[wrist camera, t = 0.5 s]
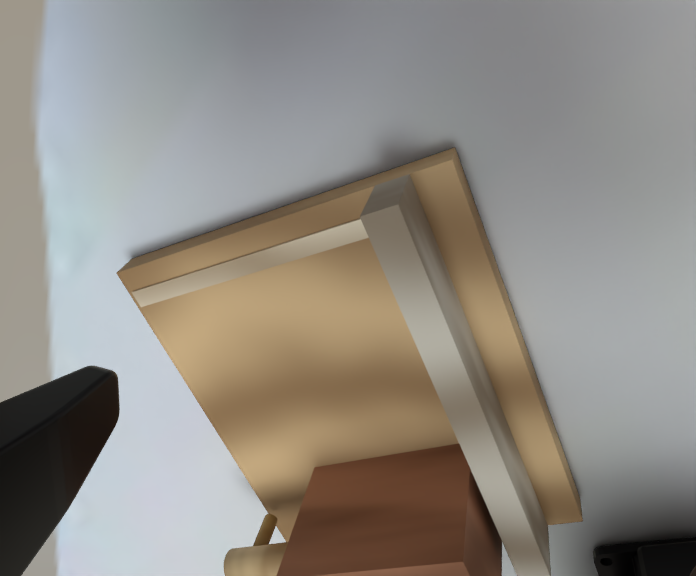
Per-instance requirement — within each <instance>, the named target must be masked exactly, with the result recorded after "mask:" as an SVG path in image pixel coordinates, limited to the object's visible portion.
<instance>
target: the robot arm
mask: <svg viewBox="0 0 696 576" xmlns="http://www.w3.org/2000/svg"><path fill="white" fill-rule="evenodd" d="M118 417H119V389H118V377H117V375H116V373H115V372H113V371H112V370H108V369H105V368H101V367H97V366H87V367H84V368H82V369H80V370H77V371H75V372H72V373H70V374H68V375H65V376H63V377H60V378H58V379H56V380H53V381H51V382H48V383H46V384H44V385H41V386H39V387H37V388H34V389H32V390H29V391H27V392H24V393H22V394H20V395H17V396H15V397H13V398H10V399H8V400H5V401H3V402H1V403H0V576H21V575H22V574H23V572H24V571H25V569H26V568H27V567H28V565H29V564H30V563H31V561H32V560H33V558H34V557H35V556H36V554H37V553H38V551H39V550H40V549H41V547H42V546H43V544H44V543H45V542H46V540H47V539H48V537H49V536H50V534H51V533H52V532H53V530H54V529H55V527H56V526H57V525H58V523H59V522H60V520H61V519H62V517H63V516H64V514H65V513H66V511H67V510H68V508H69V507H70V505H71V503H72V502H73V500H74V498H75V497H76V495H77V493H78V492H79V490H80V488H81V486H82V484H83V483H84V481H85V479H86V477H87V476H88V474H89V472H90V470H91V468H92V467H93V465H94V463H95V461H96V460H97V458H98V456H99V454H100V452H101V451H102V449H103V447H104V445H105V444H106V442H107V440H108V438H109V436H110V435H111V433H112V431H113V429H114V428H115V426H116V423H117V421H118ZM593 556H594V563H595V566H596V569H597V572H598V574H599V576H696V537H693V538H683V539H672V540H662V541H651V542H641V543H631V544H620V545H610V546H601V547H598V548H596V549H595V550H594V551H593Z"/></svg>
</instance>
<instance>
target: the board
mask: <svg viewBox="0 0 696 576" xmlns="http://www.w3.org/2000/svg"><path fill="white" fill-rule="evenodd" d="M117 275H118V276H119V278H120V279H121V281H122V283H123V284H124V286H125V287H126V289H127V290H128V292H129V294H130V295H131V297H132V298H133V300H134V302H135V303H136V305H137V306H138V308H139V309H140V311H141V313H142V314H143V316H144V317H145V319H146V321H147V322H148V324H149V325H150V327H151V328H152V330H153V332H154V333H155V335H156V336H157V338H158V339H159V341H160V343H161V344H162V346H163V347H164V349H165V351H166V352H167V354H168V355H169V357H170V358H171V360H172V362H173V363H174V365H175V366H176V368H177V370H178V371H179V373H180V374H181V376H182V377H183V379H184V381H185V382H186V384H187V385H188V387H189V389H190V390H191V392H192V393H193V395H194V396H195V398H196V400H197V401H198V403H199V404H200V406H201V407H202V409H203V411H204V412H205V414H206V415H207V417H208V419H209V420H210V422H211V423H212V425H213V426H214V428H215V430H216V431H217V433H218V434H219V436H220V438H221V439H222V441H223V442H224V444H225V445H226V447H227V449H228V450H229V452H230V453H231V455H232V457H233V458H234V460H235V461H236V463H237V464H238V466H239V468H240V469H241V471H242V472H243V474H244V475H245V477H246V479H247V480H248V482H249V483H250V485H251V487H252V488H253V490H254V491H255V493H256V494H257V496H258V498H259V499H260V501H261V502H262V504H263V506H264V507H265V509H266V510H267V512H268V513H269V514H272V515H274V516H276V517H277V519H278V521H277V523H276V526H277V528H278V529H279V531H280V532H281V534H282V536H283V537H284V539H285V540H286V542H288V541H289V539H290V536H291V533H292V530H293V527H294V524H295V521H296V519H297V516H298V513H299V510H300V507H301V504H302V501H303V499H304V496H305V493H306V490H307V487H308V484H309V482H310V479H311V476H312V473H313V470H314V467H320V466H326V465H332V464H338V463H344V462H350V461H356V460H362V459H368V458H374V457H380V456H386V455H392V454H398V453H404V452H410V451H416V450H422V449H428V448H434V447H441V446H447V445H453V444H460V446H461V449H462V451H463V453H464V455H465V458H466V460H467V462H468V465H469V467H470V469H471V471H472V474H473V476H474V478H475V481H476V483H477V485H478V487H479V490H480V492H481V494H482V496H483V499H484V501H485V503H486V506H487V508H488V510H489V512H490V515H491V517H492V519H493V521H494V524H495V526H496V528H497V531H498V533H499V535H500V537H501V540H502V542H503V544H504V546H505V549H506V551H507V553H508V556H509V558H510V560H511V562H512V565H513V567H514V569H515V572H516V574H517V576H551V568H550V552H549V537H548V525H554V524H563V523H572V522H581V521H583V518H582V510H581V502H580V497H579V494H578V491H577V488H576V485H575V483H574V480H573V477H572V474H571V471H570V469H569V466H568V463H567V460H566V457H565V455H564V452H563V449H562V446H561V443H560V441H559V438H558V435H557V432H556V429H555V427H554V424H553V421H552V418H551V415H550V413H549V410H548V407H547V404H546V401H545V398H544V396H543V393H542V390H541V387H540V384H539V382H538V379H537V376H536V373H535V370H534V368H533V365H532V362H531V359H530V356H529V354H528V351H527V348H526V345H525V342H524V340H523V337H522V334H521V331H520V328H519V326H518V323H517V320H516V317H515V314H514V311H513V309H512V306H511V303H510V300H509V297H508V295H507V292H506V289H505V286H504V283H503V281H502V278H501V275H500V272H499V269H498V267H497V264H496V261H495V258H494V255H493V253H492V250H491V247H490V244H489V241H488V239H487V236H486V233H485V230H484V227H483V225H482V222H481V219H480V216H479V213H478V210H477V208H476V205H475V202H474V199H473V196H472V194H471V191H470V188H469V185H468V182H467V180H466V177H465V174H464V171H463V168H462V166H461V163H460V160H459V157H458V154H457V152H456V149H455V148H452V149H449V150H446V151H443V152H440V153H437V154H435V155H432V156H429V157H426V158H423V159H420V160H417V161H414V162H411V163H408V164H406V165H403V166H400V167H397V168H394V169H391V170H388V171H385V172H382V173H379V174H377V175H374V176H371V177H368V178H365V179H362V180H359V181H356V182H353V183H350V184H348V185H345V186H342V187H339V188H336V189H333V190H330V191H327V192H324V193H321V194H319V195H316V196H313V197H310V198H307V199H304V200H301V201H298V202H295V203H292V204H290V205H287V206H284V207H281V208H278V209H275V210H272V211H269V212H266V213H263V214H260V215H258V216H255V217H252V218H249V219H246V220H243V221H240V222H237V223H234V224H231V225H229V226H226V227H223V228H220V229H217V230H214V231H211V232H208V233H205V234H202V235H200V236H197V237H194V238H191V239H188V240H185V241H182V242H179V243H176V244H173V245H171V246H168V247H165V248H162V249H159V250H156V251H153V252H150V253H147V254H144V255H142V256H139V257H136V258H133V259H131V260H130V261H129V262H128V263H127V264H126V265H125V266H124V267H122V268H121V269H120V270H119V271H118V272H117Z"/></svg>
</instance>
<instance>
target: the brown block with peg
mask: <svg viewBox="0 0 696 576" xmlns="http://www.w3.org/2000/svg"><path fill="white" fill-rule="evenodd" d="M277 521H278V519H277V517H276V516H274V515H272V514H267V515H266V516H265V518H264V520H263V523H262V525H261V528H260V530H259V533H258V535H257V537H256V540H255V542H254V545H253V546H251V547H243V548H235V549H231V550H229V551H228V553H227V554H226V557H225V560H224V573H225V576H502V540H501V537H500V535H499V533H498V531H497V528H496V526H495V524H494V521H493V519H492V517H491V515H490V512H489V510H488V508H487V506H486V503H485V501H484V499H483V496H482V494H481V492H480V490H479V487H478V485H477V483H476V481H475V478H474V476H473V474H472V471H471V469H470V467H469V465H468V462H467V460H466V458H465V455H464V453H463V451H462V449H461V446H460V444H453V445H447V446H441V447H434V448H428V449H422V450H416V451H410V452H404V453H398V454H392V455H386V456H380V457H374V458H368V459H362V460H356V461H350V462H344V463H338V464H332V465H326V466H320V467H314V470H313V473H312V476H311V479H310V482H309V484H308V487H307V490H306V493H305V496H304V499H303V501H302V504H301V507H300V510H299V513H298V516H297V519H296V521H295V524H294V527H293V530H292V533H291V536H290V539H289V541H288V542H285V543H277V544H269V542H270V539H271V537H272V534H273V531H274V529H275V526H276V523H277Z"/></svg>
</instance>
